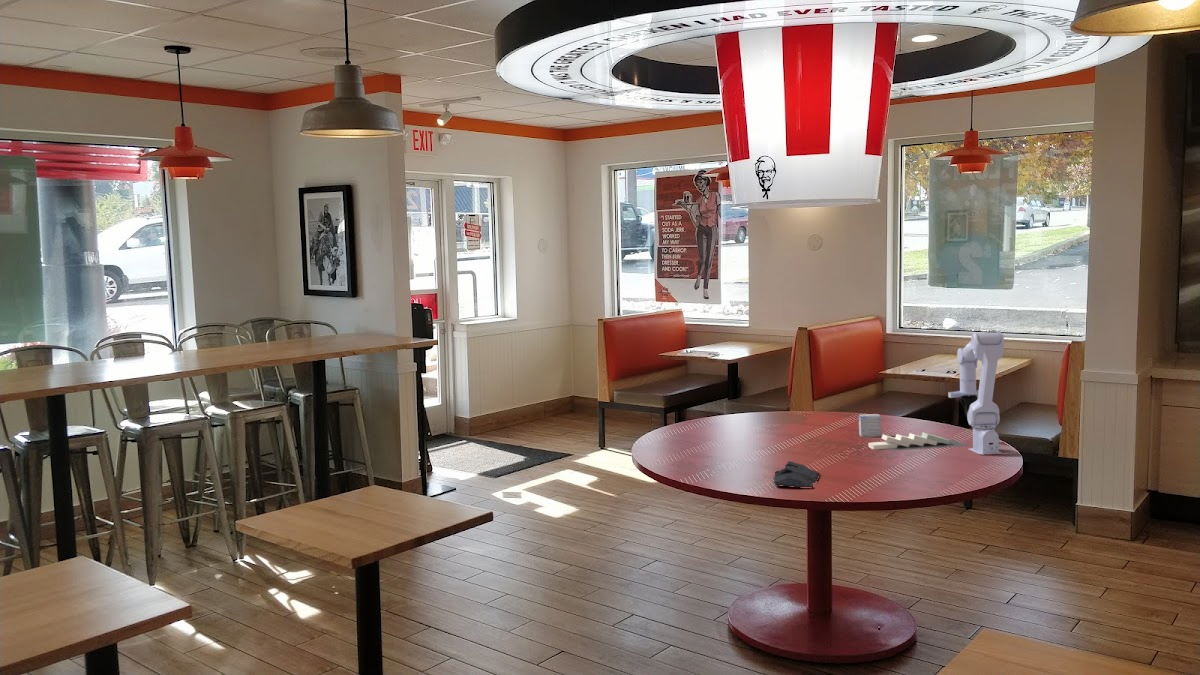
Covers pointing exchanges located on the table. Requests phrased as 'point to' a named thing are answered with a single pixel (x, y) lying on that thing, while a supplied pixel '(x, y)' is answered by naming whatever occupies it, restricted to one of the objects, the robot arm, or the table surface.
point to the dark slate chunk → (796, 475)
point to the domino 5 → (935, 438)
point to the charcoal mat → (928, 446)
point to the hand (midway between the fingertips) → (968, 415)
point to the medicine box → (870, 425)
